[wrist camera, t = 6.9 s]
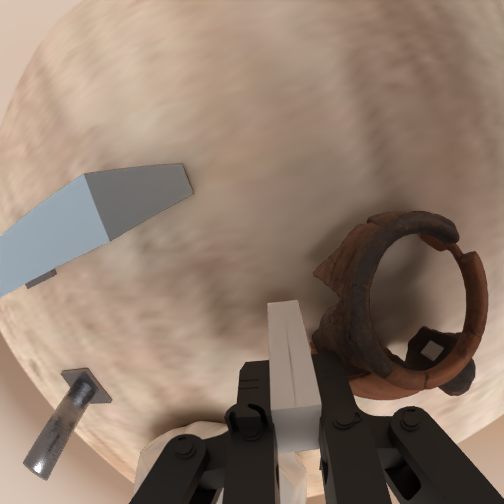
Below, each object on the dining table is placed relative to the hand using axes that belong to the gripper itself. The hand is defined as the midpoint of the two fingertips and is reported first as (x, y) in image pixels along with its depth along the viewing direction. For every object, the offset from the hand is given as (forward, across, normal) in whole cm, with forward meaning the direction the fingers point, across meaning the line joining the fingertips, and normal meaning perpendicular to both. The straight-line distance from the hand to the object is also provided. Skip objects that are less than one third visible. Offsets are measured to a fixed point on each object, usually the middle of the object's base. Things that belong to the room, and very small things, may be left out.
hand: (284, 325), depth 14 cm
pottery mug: (+2, +6, -1) cm, 6 cm away
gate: (+1, -10, +6) cm, 12 cm away
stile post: (+2, -17, -7) cm, 18 cm away
